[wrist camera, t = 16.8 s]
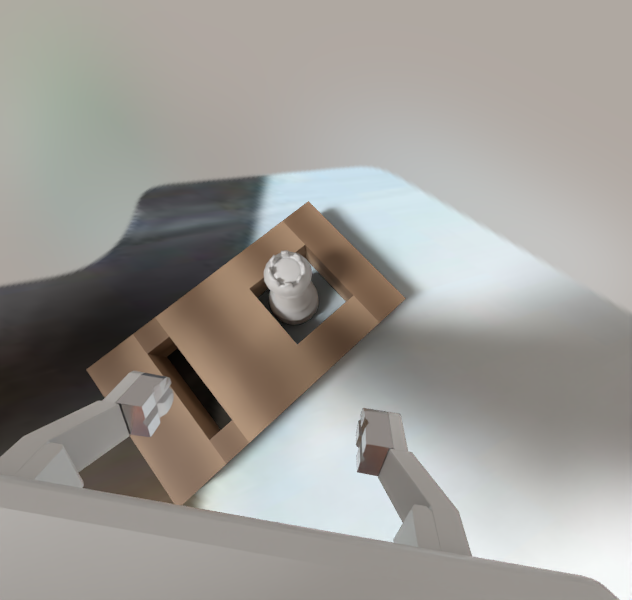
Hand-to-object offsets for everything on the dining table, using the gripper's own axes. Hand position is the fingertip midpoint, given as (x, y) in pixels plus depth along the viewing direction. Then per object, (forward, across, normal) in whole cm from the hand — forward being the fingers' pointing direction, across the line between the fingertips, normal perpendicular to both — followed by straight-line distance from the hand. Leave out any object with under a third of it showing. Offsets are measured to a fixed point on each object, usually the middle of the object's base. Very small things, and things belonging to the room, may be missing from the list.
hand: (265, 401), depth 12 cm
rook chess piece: (+14, +1, +4) cm, 15 cm away
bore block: (+11, +3, +6) cm, 13 cm away
